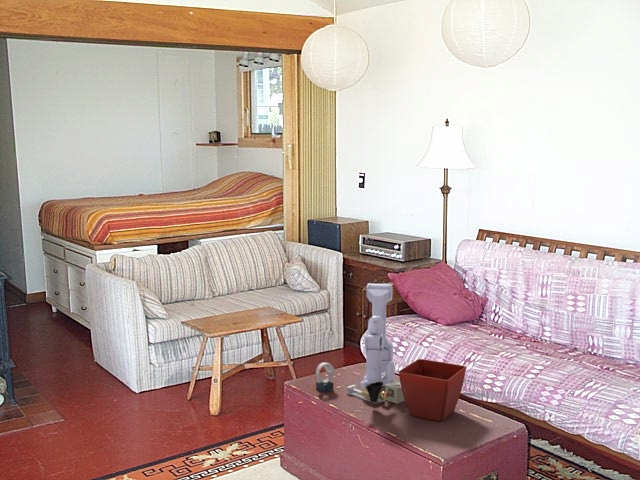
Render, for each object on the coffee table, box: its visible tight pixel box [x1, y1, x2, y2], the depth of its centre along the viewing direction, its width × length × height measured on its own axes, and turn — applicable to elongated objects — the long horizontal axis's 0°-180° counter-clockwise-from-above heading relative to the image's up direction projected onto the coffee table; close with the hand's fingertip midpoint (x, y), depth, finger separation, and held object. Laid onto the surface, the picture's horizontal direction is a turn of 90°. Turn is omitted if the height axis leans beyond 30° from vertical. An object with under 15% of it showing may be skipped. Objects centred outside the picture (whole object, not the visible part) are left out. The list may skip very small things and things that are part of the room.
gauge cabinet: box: [384, 380, 405, 405], centre depth 281 cm, size 6×6×6 cm
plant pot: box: [398, 358, 467, 422], centre depth 267 cm, size 19×19×17 cm
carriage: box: [361, 388, 381, 399], centre depth 281 cm, size 4×5×4 cm
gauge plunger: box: [379, 390, 394, 401], centre depth 278 cm, size 7×3×3 cm, turn 133°
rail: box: [346, 384, 385, 405], centre depth 283 cm, size 4×16×3 cm, turn 43°
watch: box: [315, 361, 336, 394], centre depth 292 cm, size 6×8×11 cm
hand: (373, 401), depth 272 cm, fingers closed
